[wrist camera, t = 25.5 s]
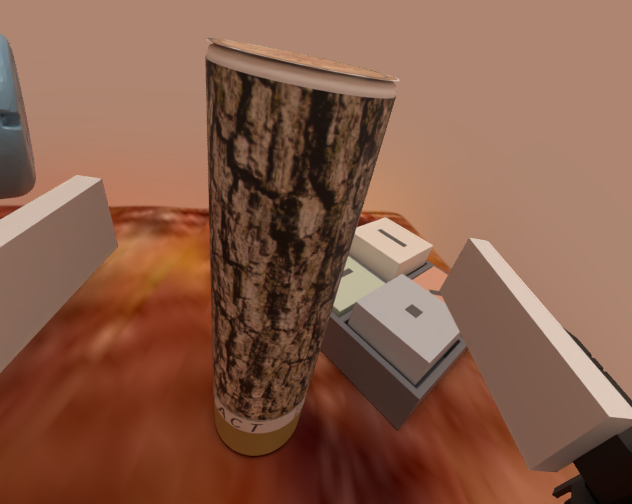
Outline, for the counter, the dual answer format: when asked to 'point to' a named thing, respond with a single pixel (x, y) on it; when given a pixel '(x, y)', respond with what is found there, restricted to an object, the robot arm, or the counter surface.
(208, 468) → the counter surface
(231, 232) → the brown bark-patterned cylinder
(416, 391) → the keypad
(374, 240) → the key cream
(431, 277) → the key terracotta
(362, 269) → the key sage
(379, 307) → the key slate
